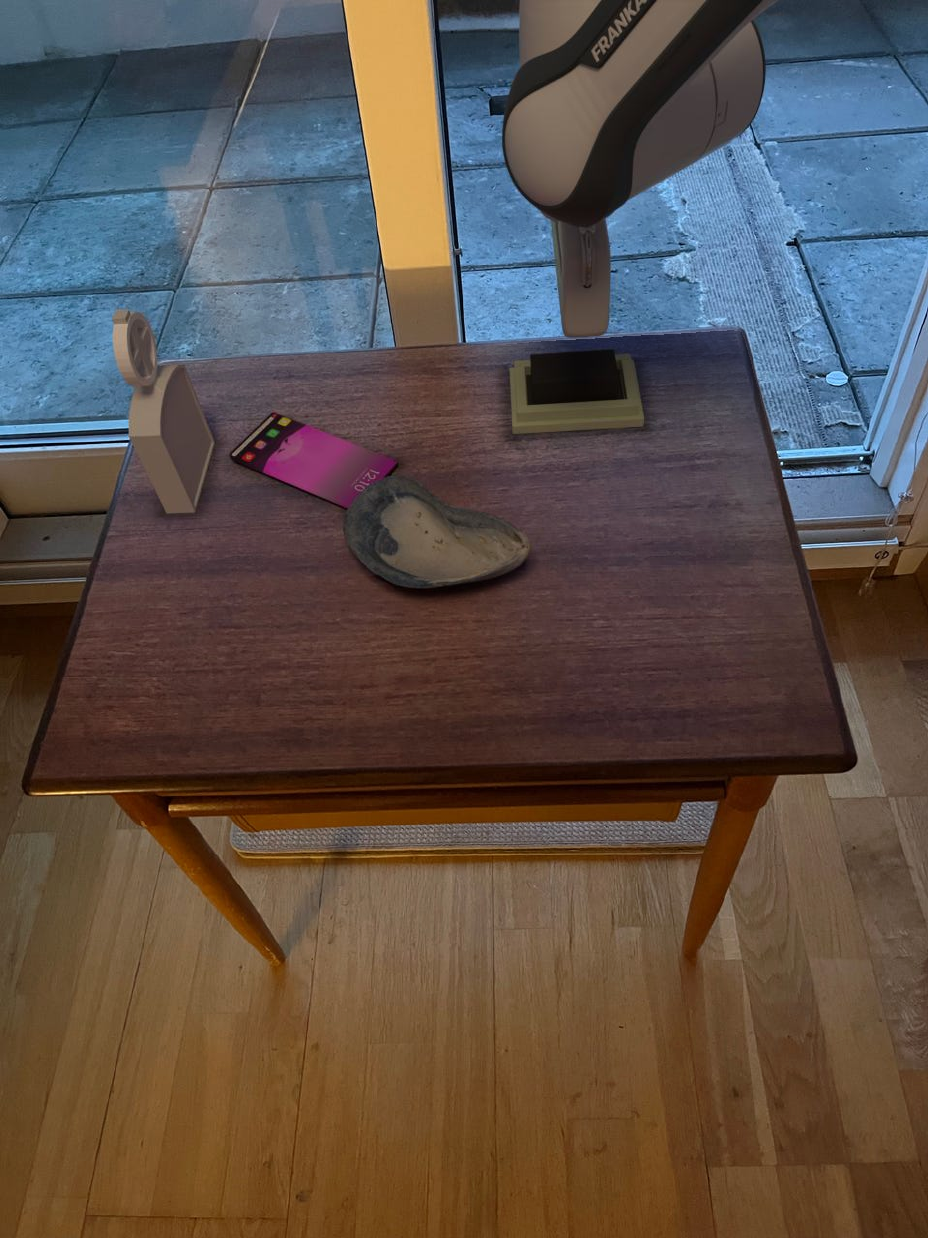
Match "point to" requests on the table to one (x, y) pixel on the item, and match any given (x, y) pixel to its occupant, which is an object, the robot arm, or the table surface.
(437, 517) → the seashell
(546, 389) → the black pad
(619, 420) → the pad
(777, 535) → the table surface
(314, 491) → the smartphone
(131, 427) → the gravestone
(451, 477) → the table surface
